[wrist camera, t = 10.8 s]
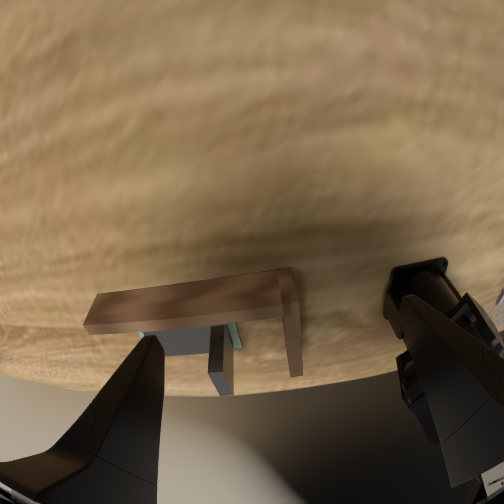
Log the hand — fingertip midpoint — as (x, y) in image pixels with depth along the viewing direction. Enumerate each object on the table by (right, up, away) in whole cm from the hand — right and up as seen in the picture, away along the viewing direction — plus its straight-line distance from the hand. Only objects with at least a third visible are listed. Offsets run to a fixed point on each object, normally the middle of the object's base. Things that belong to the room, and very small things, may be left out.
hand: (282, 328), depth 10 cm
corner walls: (-6, -4, +17) cm, 18 cm away
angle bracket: (-7, -5, +17) cm, 20 cm away
